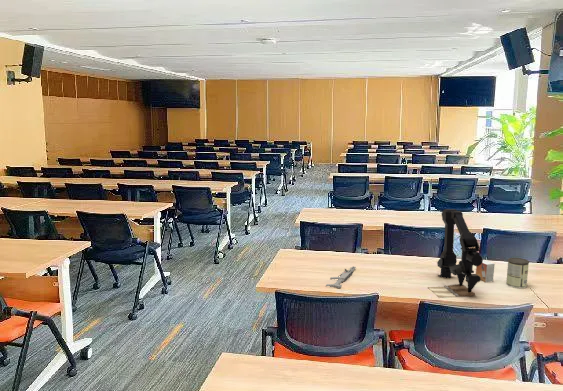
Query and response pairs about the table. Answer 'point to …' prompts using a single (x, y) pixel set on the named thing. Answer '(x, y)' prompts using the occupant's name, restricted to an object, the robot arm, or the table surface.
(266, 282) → the table surface
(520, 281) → the coffee can
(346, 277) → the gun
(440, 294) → the base leaf
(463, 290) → the leaf
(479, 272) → the small box
